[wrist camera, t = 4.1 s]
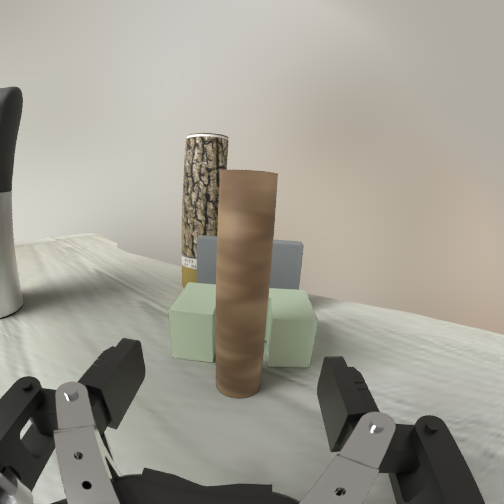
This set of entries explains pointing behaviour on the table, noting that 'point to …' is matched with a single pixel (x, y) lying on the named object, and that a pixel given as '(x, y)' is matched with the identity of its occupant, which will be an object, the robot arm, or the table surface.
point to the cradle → (277, 331)
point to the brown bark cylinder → (200, 194)
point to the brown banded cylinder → (243, 277)
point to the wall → (282, 264)
